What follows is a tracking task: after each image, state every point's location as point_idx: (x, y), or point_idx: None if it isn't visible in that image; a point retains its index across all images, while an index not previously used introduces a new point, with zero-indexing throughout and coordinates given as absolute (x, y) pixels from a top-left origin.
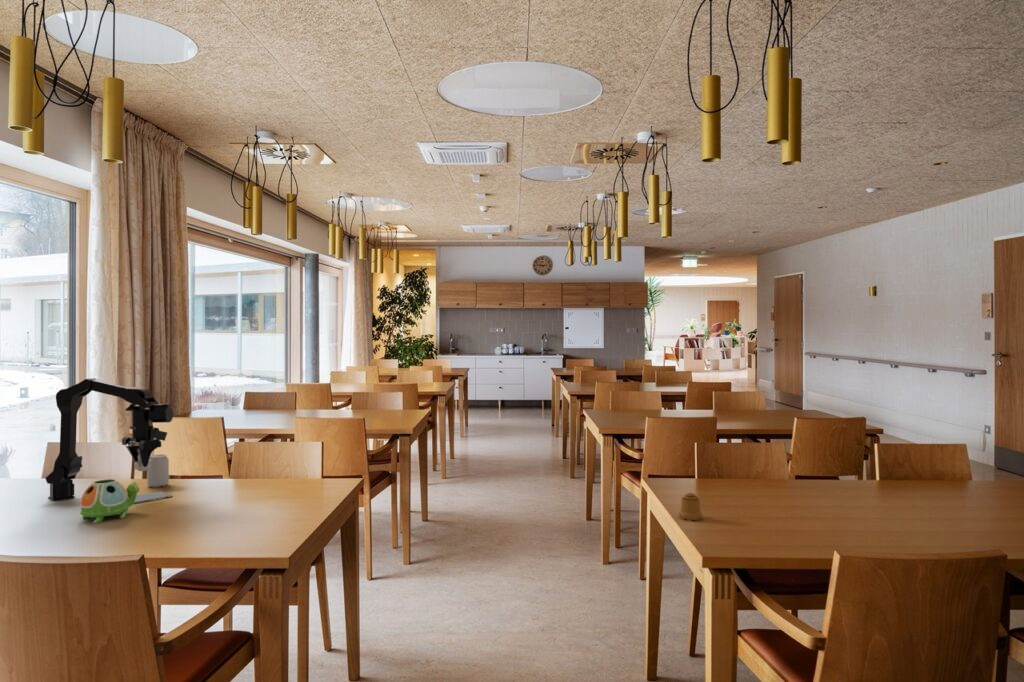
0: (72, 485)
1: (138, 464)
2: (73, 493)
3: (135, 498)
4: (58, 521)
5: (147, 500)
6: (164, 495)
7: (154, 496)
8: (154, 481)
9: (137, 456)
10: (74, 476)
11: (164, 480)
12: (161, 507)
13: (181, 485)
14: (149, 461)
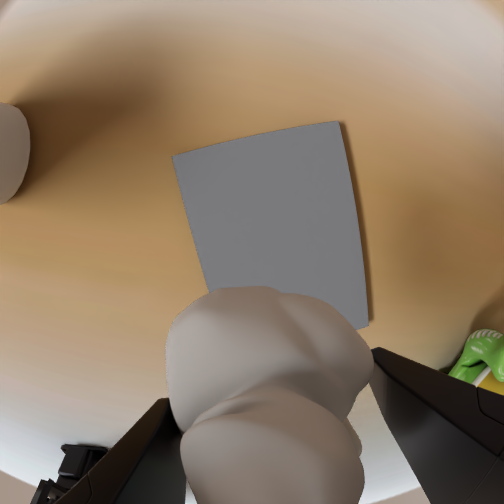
0: (82, 476)
1: (357, 436)
2: (87, 453)
3: (494, 330)
4: (399, 460)
5: (360, 253)
6: (313, 155)
7: (305, 208)
8: (11, 174)
9: (161, 500)
10: (51, 486)
11: (13, 120)
12: (480, 223)
13: (58, 46)
14: (299, 340)
